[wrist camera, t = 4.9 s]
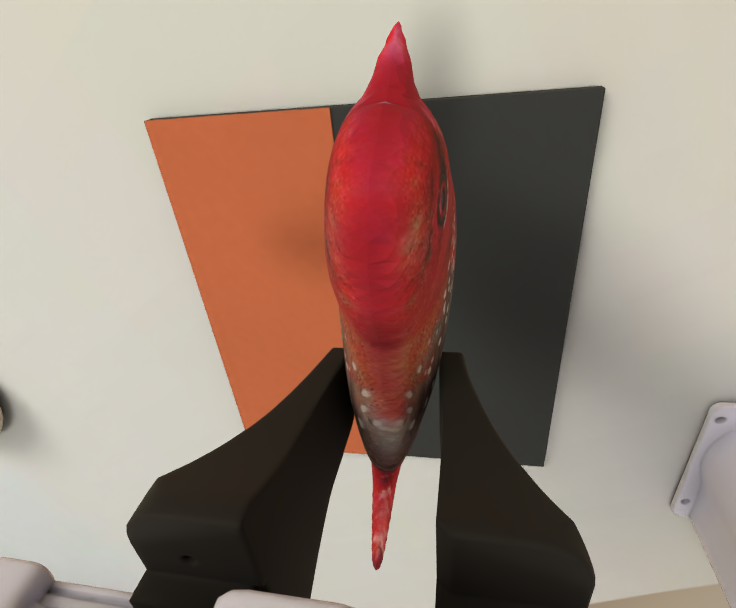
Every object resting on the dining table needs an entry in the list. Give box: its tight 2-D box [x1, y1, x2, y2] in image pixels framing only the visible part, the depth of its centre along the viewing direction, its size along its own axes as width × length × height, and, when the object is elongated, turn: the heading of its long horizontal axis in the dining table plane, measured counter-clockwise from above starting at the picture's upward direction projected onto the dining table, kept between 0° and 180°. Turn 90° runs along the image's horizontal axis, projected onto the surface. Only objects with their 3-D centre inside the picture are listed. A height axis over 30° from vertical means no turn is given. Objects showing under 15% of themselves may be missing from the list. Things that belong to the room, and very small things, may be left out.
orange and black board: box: [144, 86, 605, 467], centre depth 25 cm, size 20×22×1 cm
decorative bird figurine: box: [324, 21, 456, 570], centre depth 14 cm, size 3×18×10 cm, turn 179°
